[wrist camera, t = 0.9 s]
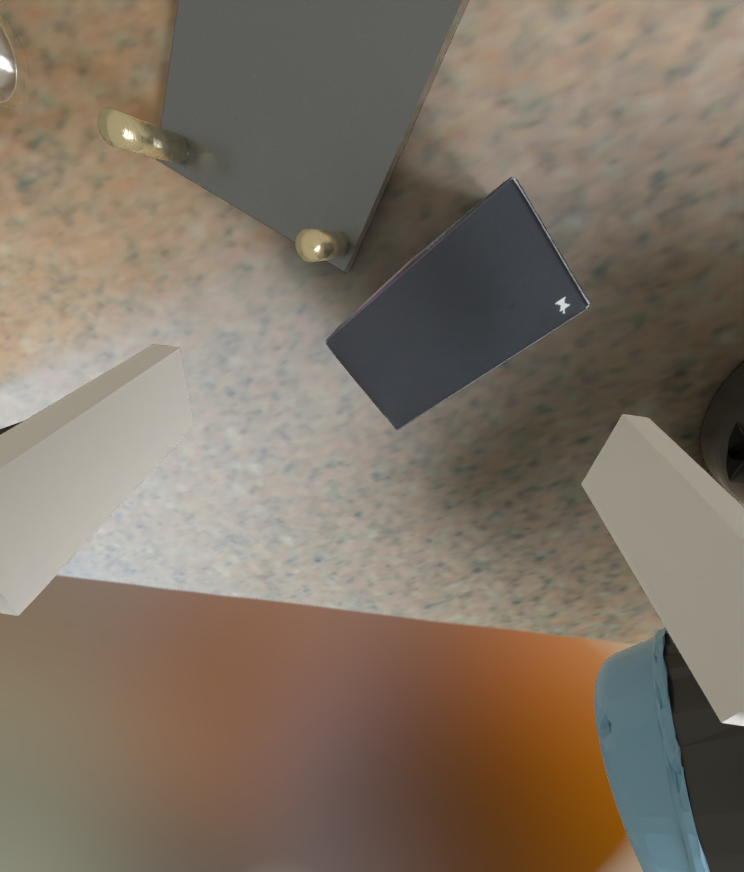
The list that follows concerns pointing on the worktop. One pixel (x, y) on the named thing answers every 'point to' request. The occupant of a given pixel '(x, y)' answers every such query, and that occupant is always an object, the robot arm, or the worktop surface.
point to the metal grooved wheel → (12, 67)
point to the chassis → (295, 108)
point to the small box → (459, 308)
